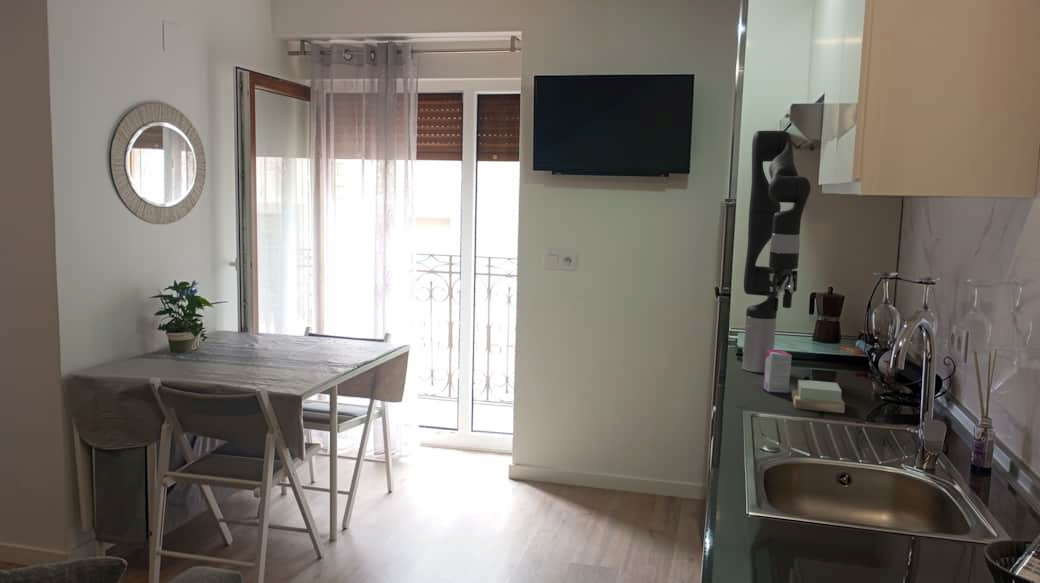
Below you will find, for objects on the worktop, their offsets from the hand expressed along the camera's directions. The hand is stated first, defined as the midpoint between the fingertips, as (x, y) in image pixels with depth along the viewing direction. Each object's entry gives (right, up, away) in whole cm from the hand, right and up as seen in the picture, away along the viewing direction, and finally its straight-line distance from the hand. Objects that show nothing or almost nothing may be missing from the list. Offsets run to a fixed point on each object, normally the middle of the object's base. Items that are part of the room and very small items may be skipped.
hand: (780, 309), depth 213 cm
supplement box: (+1, -24, +8) cm, 25 cm away
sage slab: (+9, -23, -5) cm, 25 cm away
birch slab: (+8, -26, -5) cm, 28 cm away
